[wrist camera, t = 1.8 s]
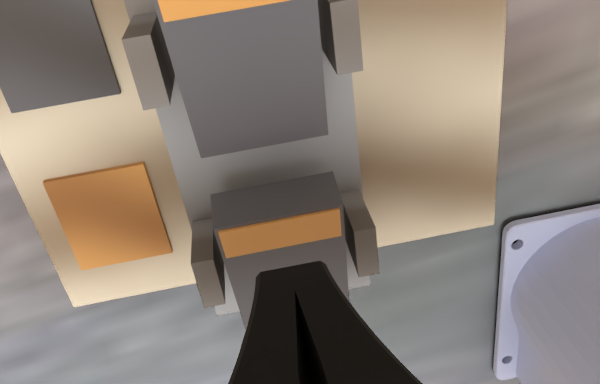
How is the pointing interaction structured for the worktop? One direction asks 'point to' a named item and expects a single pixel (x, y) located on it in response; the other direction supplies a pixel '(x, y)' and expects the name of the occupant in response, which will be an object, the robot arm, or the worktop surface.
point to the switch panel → (393, 131)
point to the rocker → (279, 231)
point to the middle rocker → (247, 70)
